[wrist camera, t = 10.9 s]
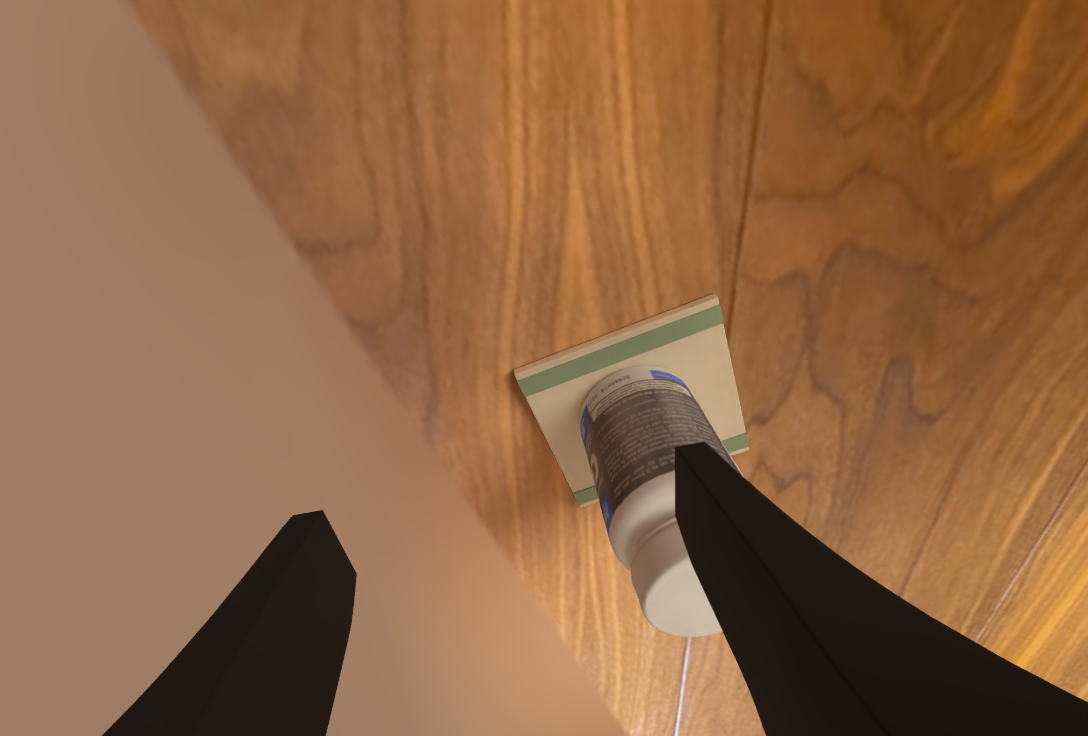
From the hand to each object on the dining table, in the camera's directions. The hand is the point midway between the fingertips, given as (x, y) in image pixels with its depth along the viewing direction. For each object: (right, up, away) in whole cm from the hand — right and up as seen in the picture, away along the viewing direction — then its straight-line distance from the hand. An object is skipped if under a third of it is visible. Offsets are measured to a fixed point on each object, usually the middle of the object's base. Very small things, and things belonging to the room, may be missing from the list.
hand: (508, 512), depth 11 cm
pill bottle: (+4, +1, +11) cm, 12 cm away
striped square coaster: (+5, +1, +11) cm, 12 cm away
